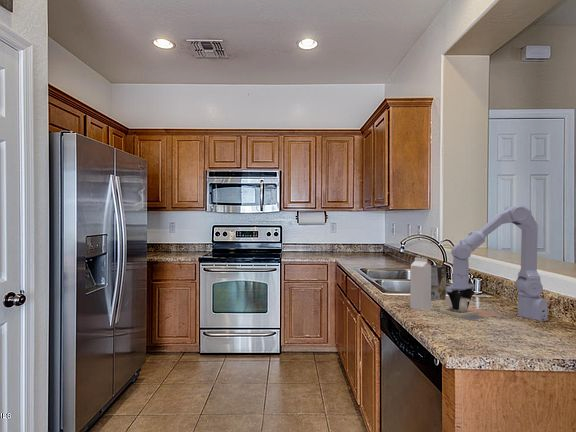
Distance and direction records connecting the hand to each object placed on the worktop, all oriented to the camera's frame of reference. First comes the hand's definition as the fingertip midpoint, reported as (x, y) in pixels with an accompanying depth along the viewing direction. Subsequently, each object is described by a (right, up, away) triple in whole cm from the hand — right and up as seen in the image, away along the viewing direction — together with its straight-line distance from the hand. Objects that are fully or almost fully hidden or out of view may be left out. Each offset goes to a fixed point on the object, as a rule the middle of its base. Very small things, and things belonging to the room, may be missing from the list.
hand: (460, 308), depth 155 cm
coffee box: (+1, -3, +29) cm, 29 cm away
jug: (-1, -2, +1) cm, 2 cm away
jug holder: (+3, -3, +1) cm, 4 cm away
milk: (-13, -3, +8) cm, 16 cm away
